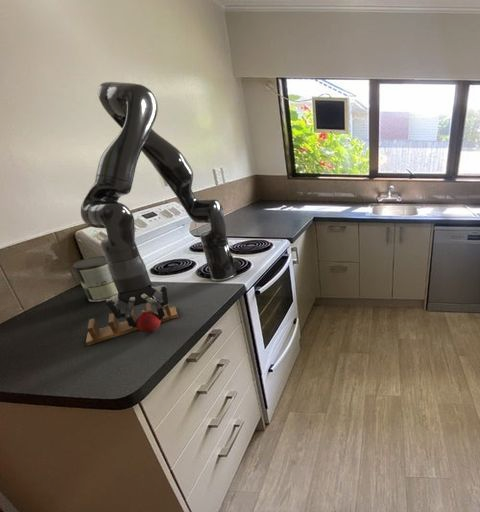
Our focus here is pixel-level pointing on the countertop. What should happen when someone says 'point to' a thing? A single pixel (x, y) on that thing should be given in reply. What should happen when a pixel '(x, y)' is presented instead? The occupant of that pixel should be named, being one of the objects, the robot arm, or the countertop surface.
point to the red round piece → (148, 321)
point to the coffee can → (96, 278)
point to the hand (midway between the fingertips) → (148, 321)
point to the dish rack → (120, 325)
